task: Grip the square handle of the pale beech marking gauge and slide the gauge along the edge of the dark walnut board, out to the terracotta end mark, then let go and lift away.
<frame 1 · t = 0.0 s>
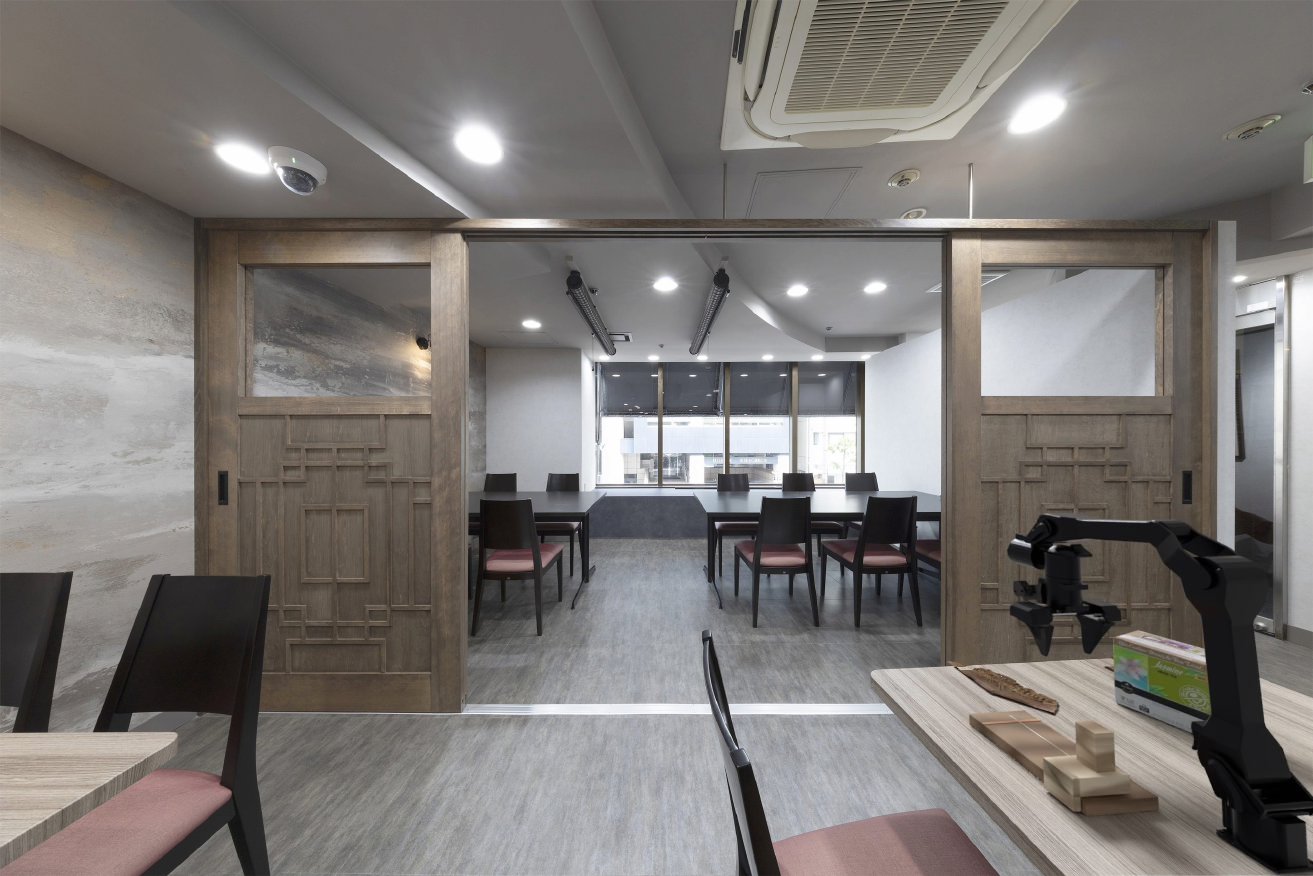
hand: (1065, 654, 93), 15 cm above the table, fingers open, 9 cm apart
wooden fragment: (997, 686, 110), on the table
marking gauge: (1085, 762, 74), point 6 cm above the table, slide at 0.0 cm
tea box: (1174, 718, 96), on the table
ceramic sculpture: (1150, 682, 111), on the table
walnut board: (1051, 761, 83), on the table
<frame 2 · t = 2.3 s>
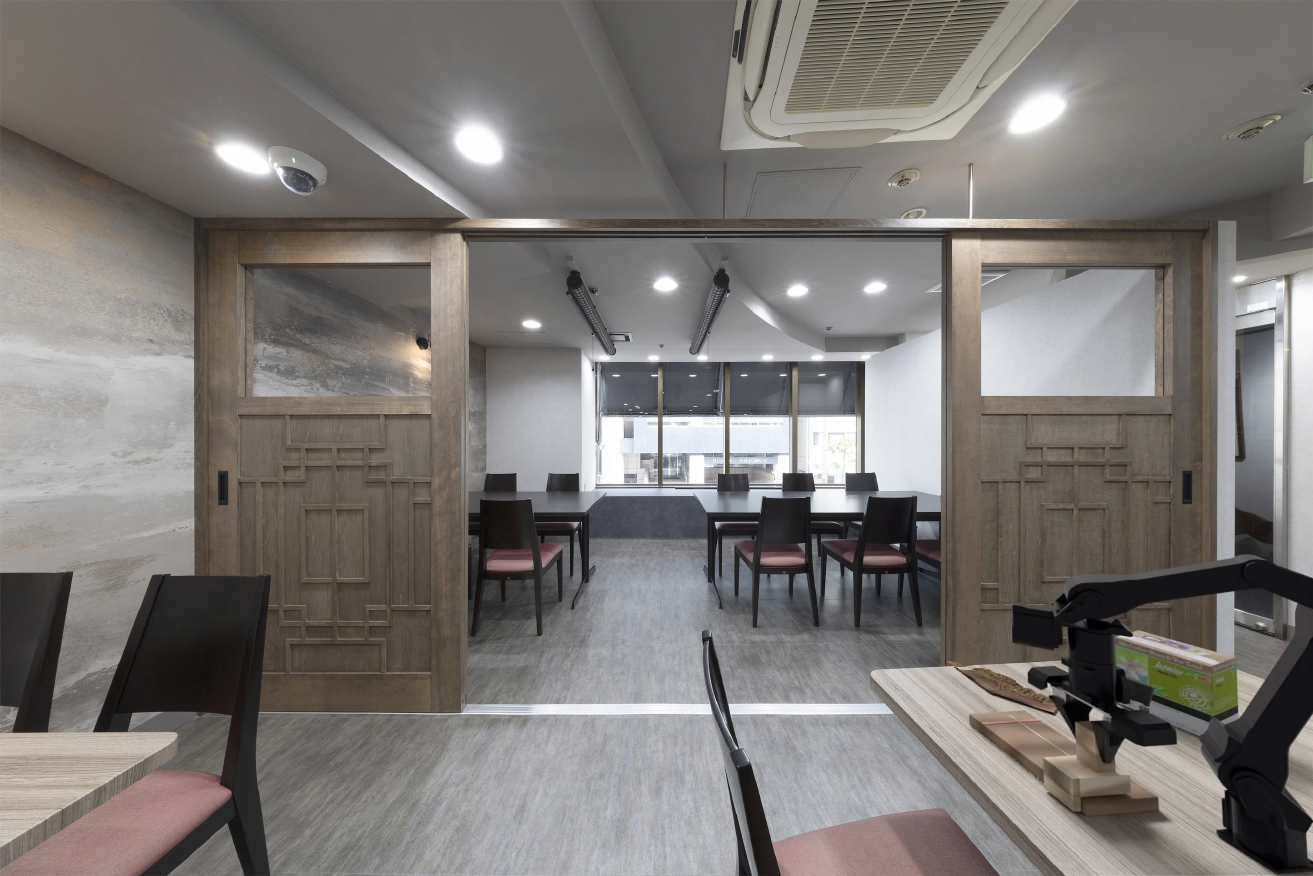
hand: (1095, 755, 74), 7 cm above the table, fingers closed on marking gauge, 3 cm apart
marking gauge: (1085, 762, 74), point 6 cm above the table, slide at 0.0 cm, touching gripper
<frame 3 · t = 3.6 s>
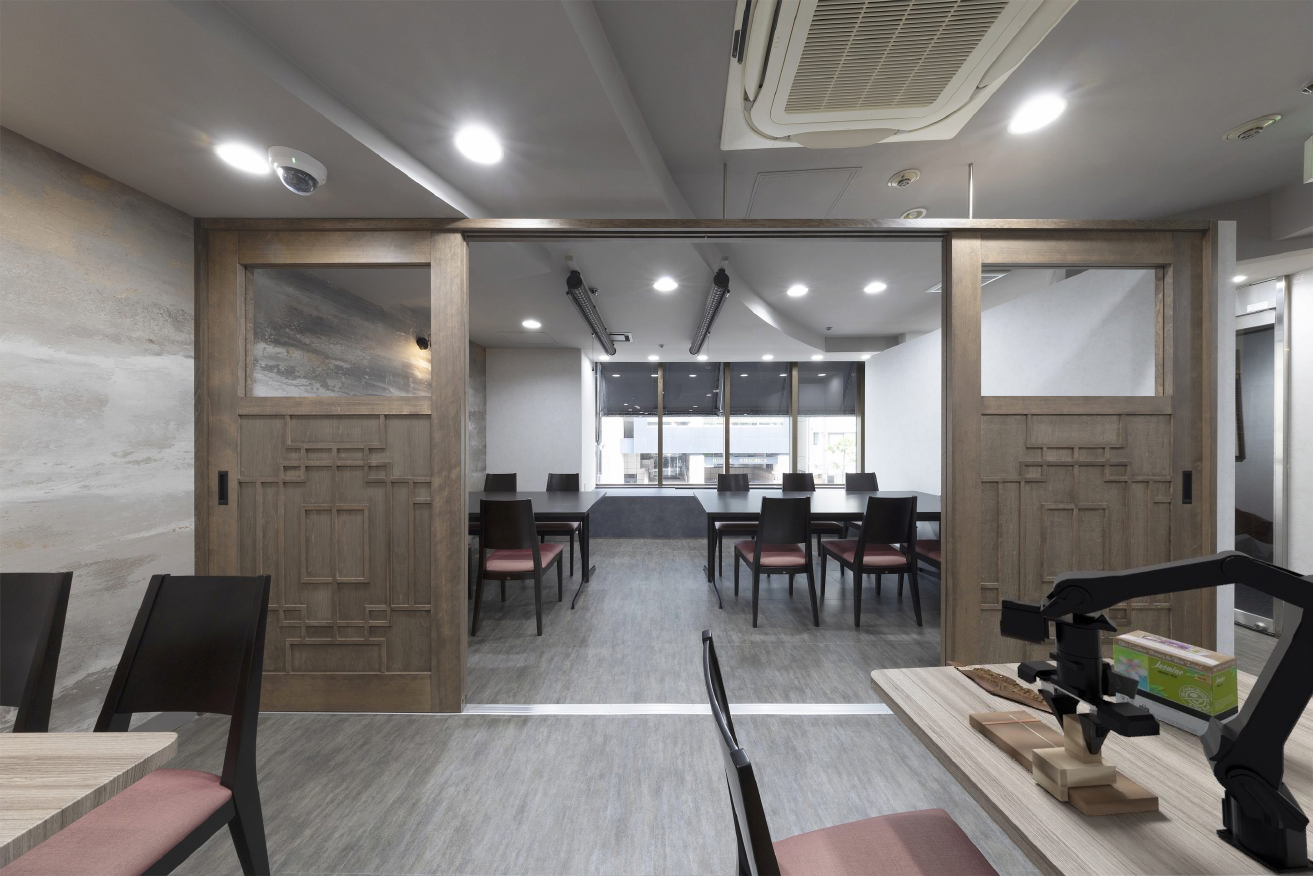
hand: (1082, 747, 76), 7 cm above the table, fingers closed on marking gauge, 3 cm apart
marking gauge: (1072, 754, 76), point 6 cm above the table, slide at 2.1 cm, touching gripper
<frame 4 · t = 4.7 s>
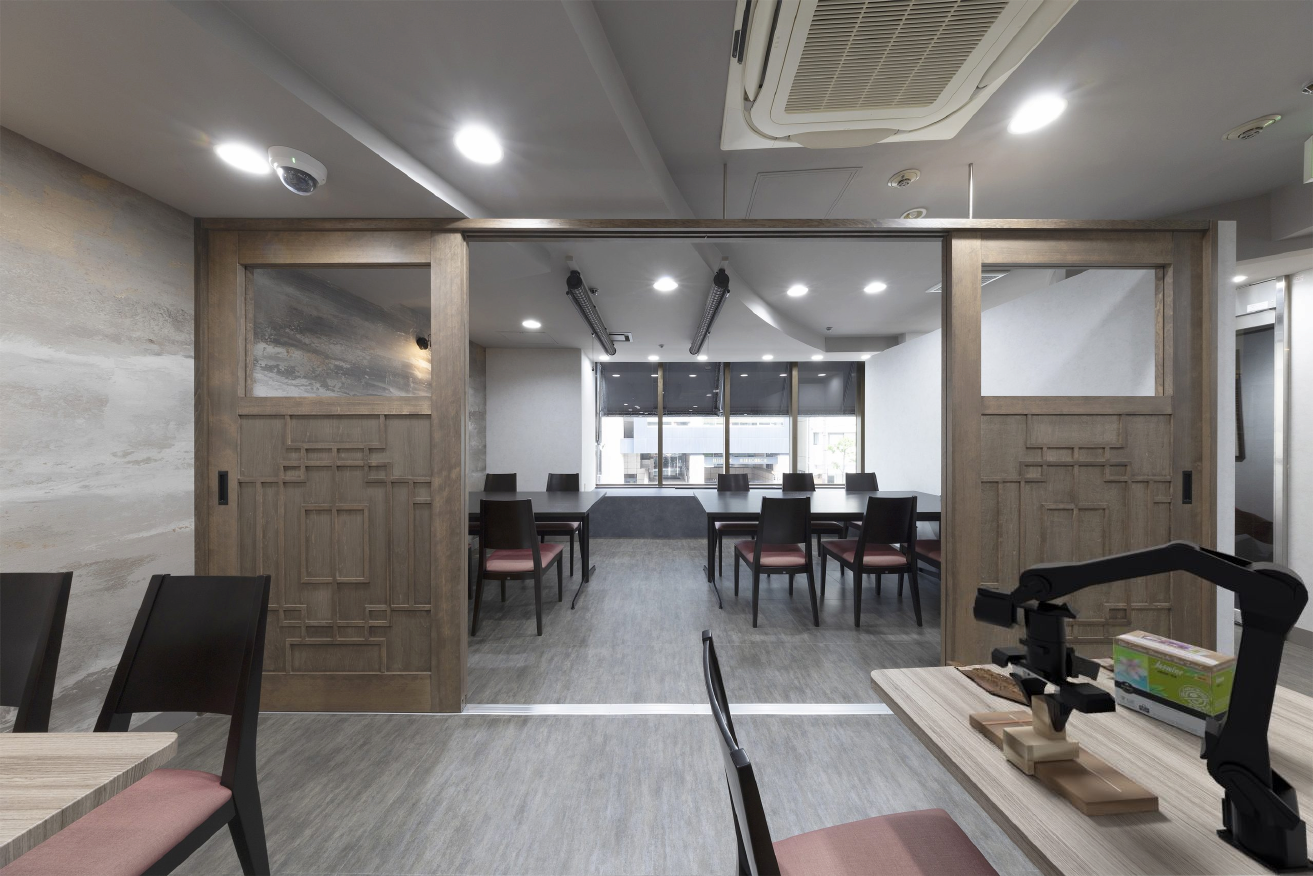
hand: (1048, 725, 82), 7 cm above the table, fingers closed on marking gauge, 3 cm apart
marking gauge: (1039, 731, 82), point 6 cm above the table, slide at 8.1 cm, touching gripper
everything else where it was.
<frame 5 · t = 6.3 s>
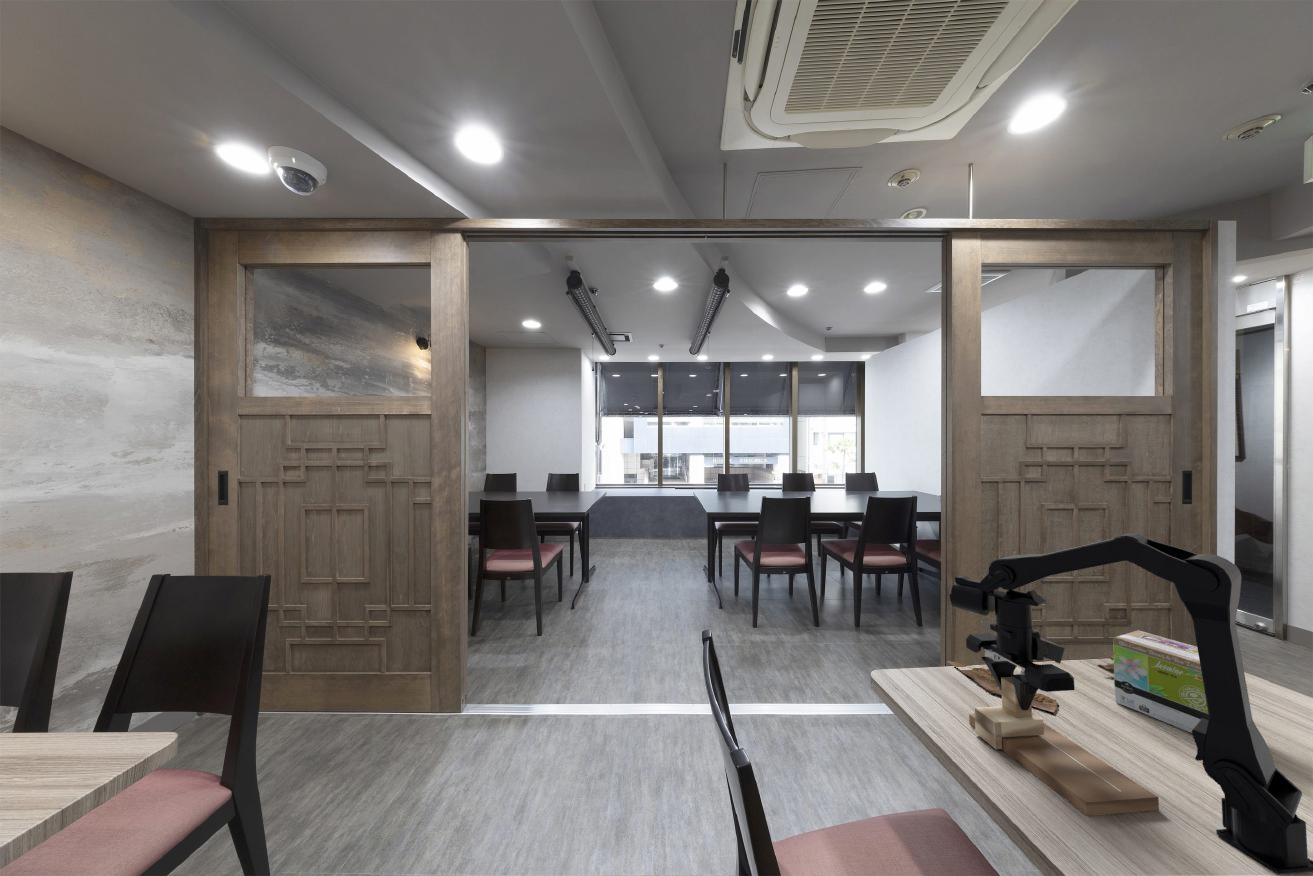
hand: (1016, 704, 89), 7 cm above the table, fingers closed on marking gauge, 3 cm apart
marking gauge: (1008, 710, 89), point 6 cm above the table, slide at 14.9 cm, touching gripper
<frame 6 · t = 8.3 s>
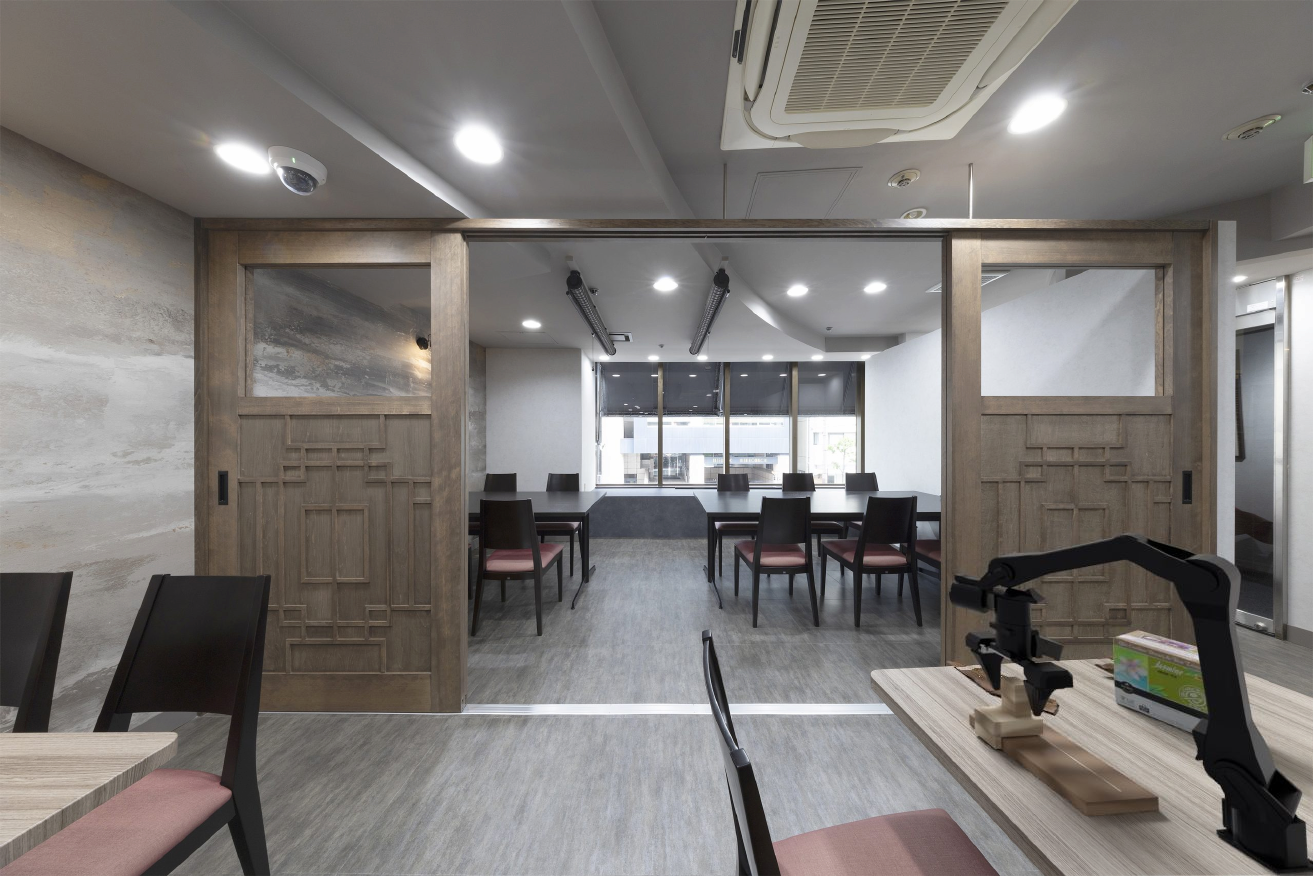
hand: (1015, 702, 89), 7 cm above the table, fingers open, 9 cm apart
marking gauge: (1007, 710, 89), point 6 cm above the table, slide at 15.0 cm
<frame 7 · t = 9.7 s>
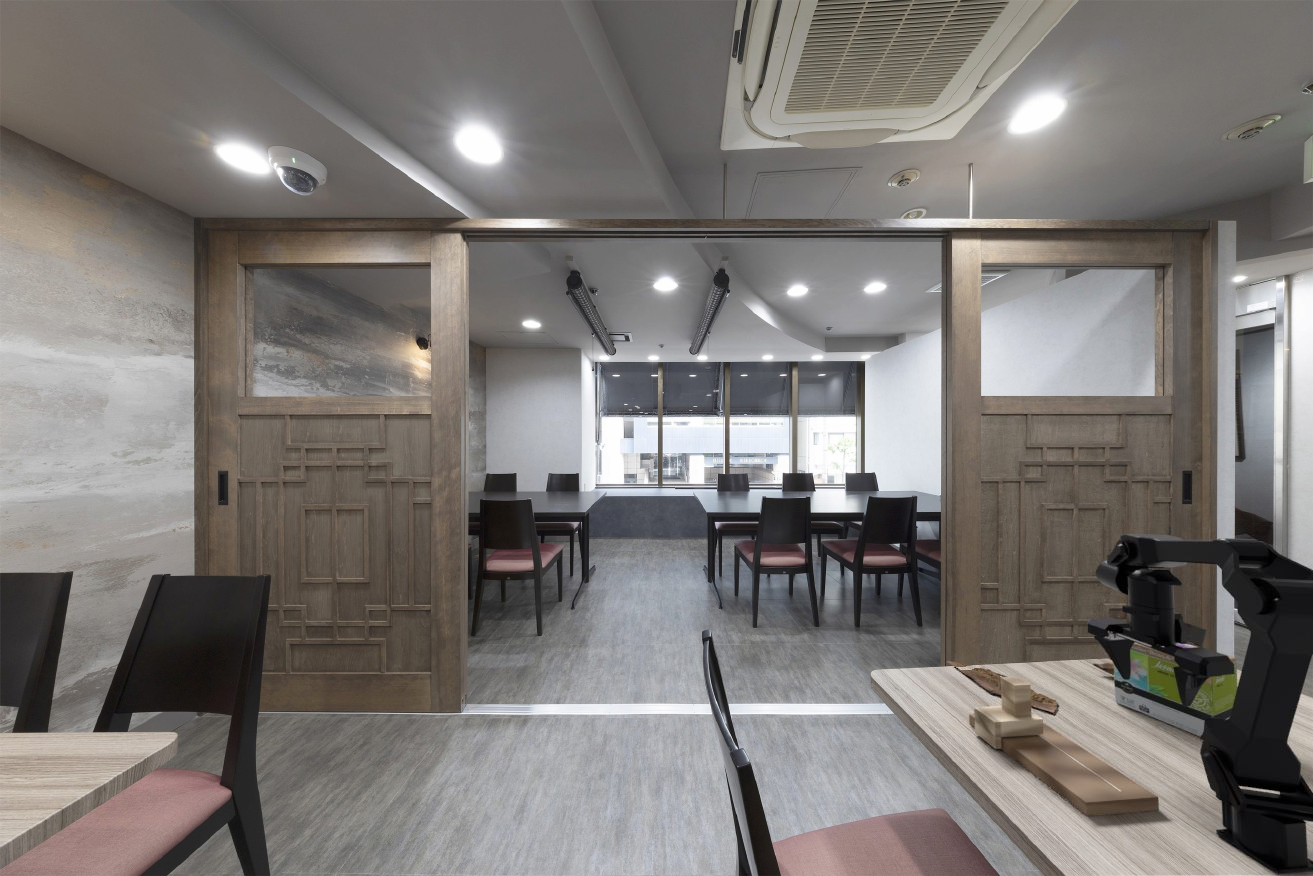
hand: (1154, 691, 83), 12 cm above the table, fingers open, 9 cm apart
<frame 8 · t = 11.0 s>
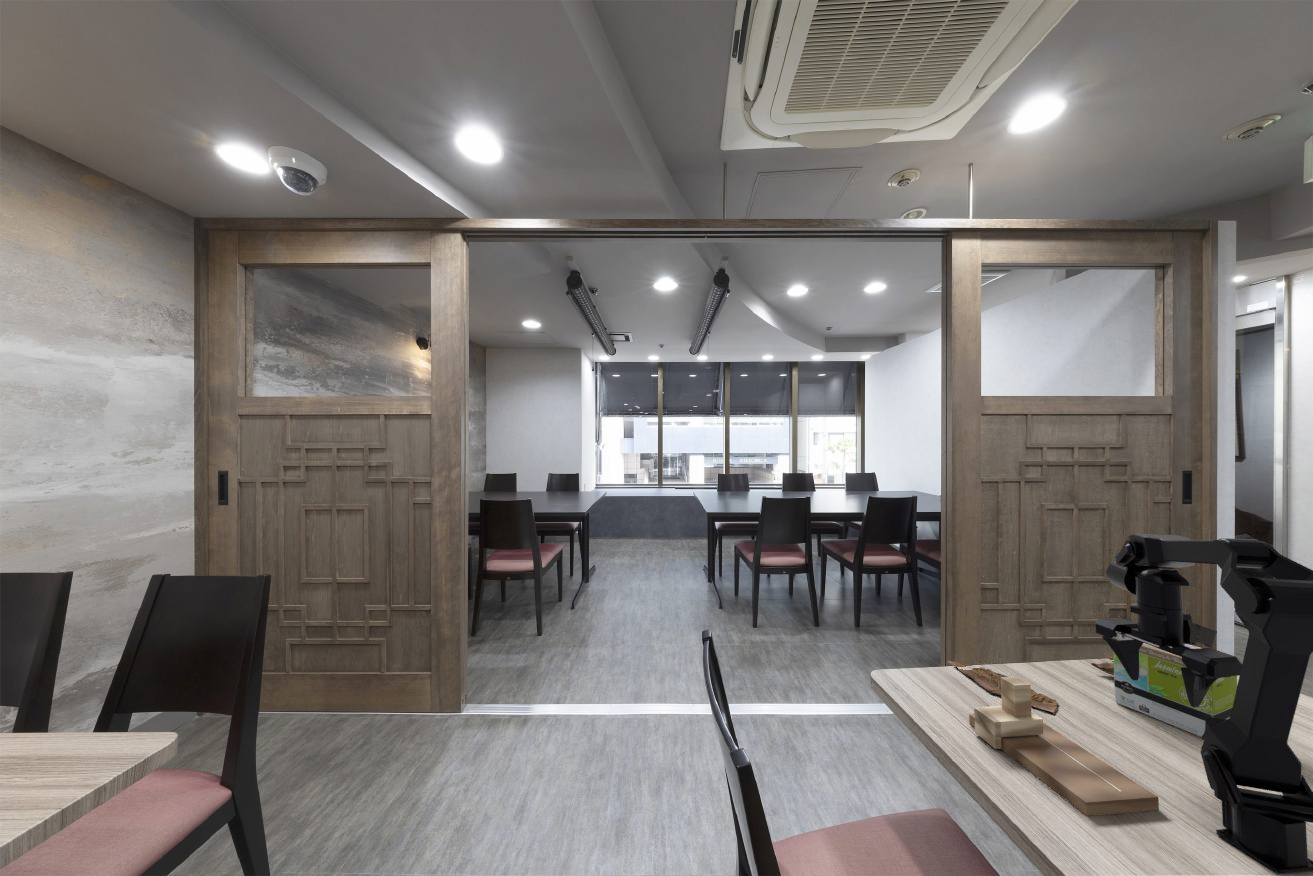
hand: (1163, 692, 83), 12 cm above the table, fingers open, 9 cm apart
at the end: marking gauge slide at 15.0 cm; the gripper is holding nothing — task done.
